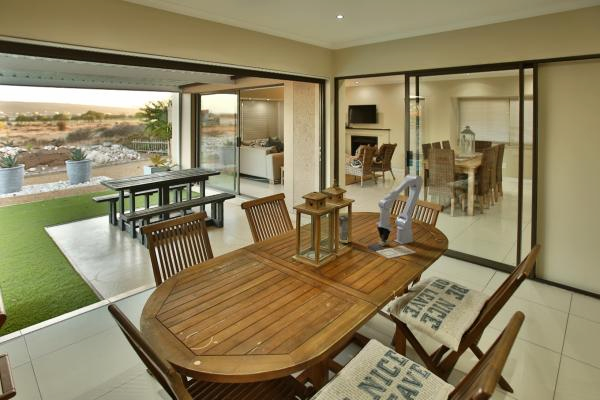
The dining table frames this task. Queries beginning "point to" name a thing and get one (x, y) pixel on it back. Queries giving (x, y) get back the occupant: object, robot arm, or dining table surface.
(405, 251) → the paper card
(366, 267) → the dining table surface
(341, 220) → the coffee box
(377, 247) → the ink pad
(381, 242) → the stamp
